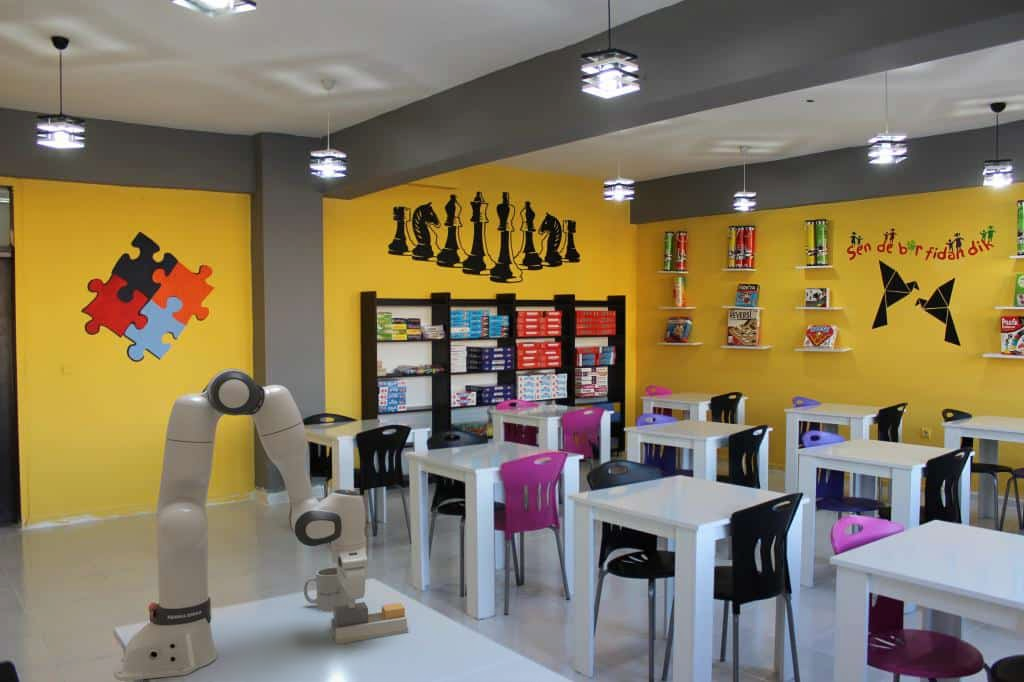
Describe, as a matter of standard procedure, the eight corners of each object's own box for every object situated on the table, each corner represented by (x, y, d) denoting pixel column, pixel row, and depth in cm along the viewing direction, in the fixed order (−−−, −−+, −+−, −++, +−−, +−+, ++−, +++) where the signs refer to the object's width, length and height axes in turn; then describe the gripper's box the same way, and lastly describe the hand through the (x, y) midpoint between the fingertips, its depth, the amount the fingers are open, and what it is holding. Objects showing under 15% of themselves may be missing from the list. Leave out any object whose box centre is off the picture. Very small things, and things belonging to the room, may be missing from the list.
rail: (336, 643, 202) (336, 621, 202) (330, 630, 211) (330, 609, 211) (407, 632, 208) (407, 611, 208) (398, 620, 218) (398, 599, 218)
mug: (353, 602, 234) (352, 567, 234) (340, 612, 226) (338, 576, 226) (314, 600, 237) (313, 566, 237) (299, 610, 229) (298, 574, 229)
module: (337, 636, 205) (336, 612, 205) (334, 629, 209) (333, 606, 209) (368, 631, 207) (367, 607, 207) (364, 624, 212) (364, 602, 212)
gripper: (330, 545, 217) (332, 597, 217) (343, 564, 198) (345, 621, 198) (354, 542, 219) (355, 593, 219) (369, 560, 200) (370, 617, 200)
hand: (350, 606), depth 208 cm, fingers closed
